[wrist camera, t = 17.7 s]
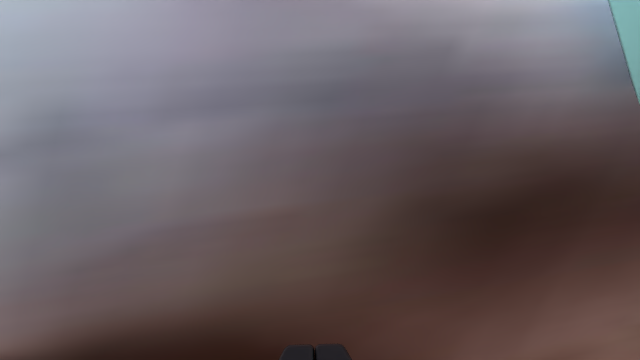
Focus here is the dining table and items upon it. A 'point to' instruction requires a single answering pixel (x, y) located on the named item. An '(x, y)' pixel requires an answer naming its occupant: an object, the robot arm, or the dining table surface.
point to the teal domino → (629, 36)
